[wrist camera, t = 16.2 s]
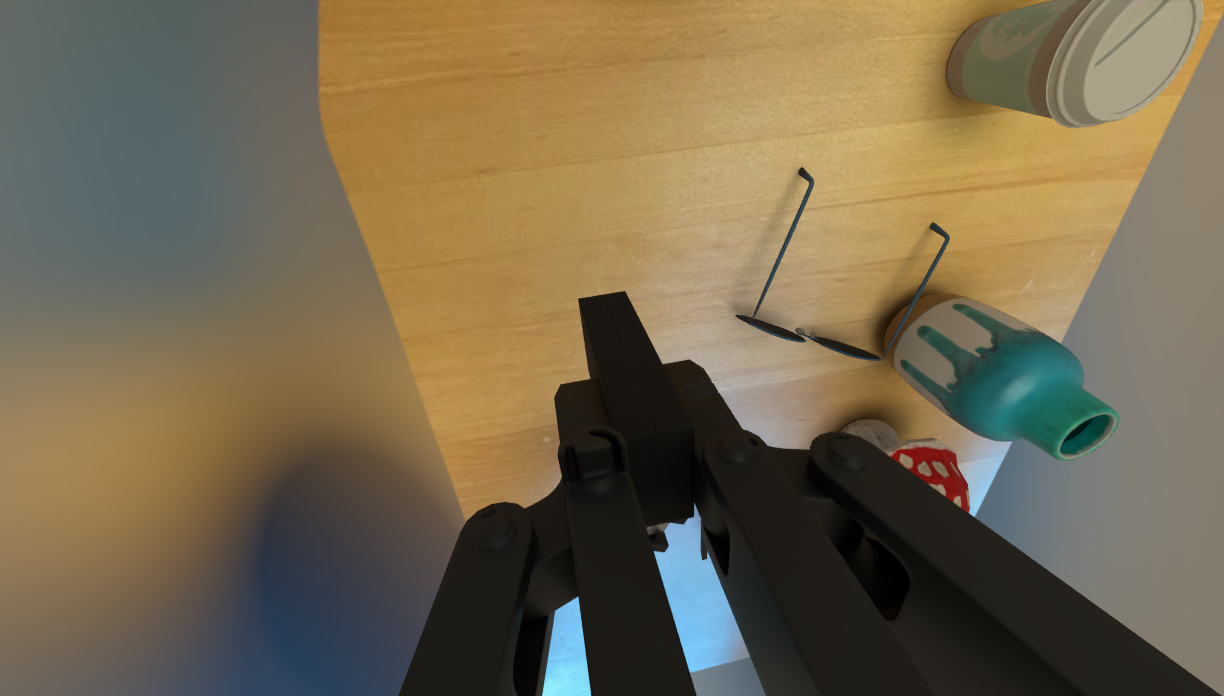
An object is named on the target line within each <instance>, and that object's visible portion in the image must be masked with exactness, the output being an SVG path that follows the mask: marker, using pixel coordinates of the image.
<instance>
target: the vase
mask: <svg viewBox="0 0 1224 696" xmlns="http://www.w3.org/2000/svg"><path fill="white" fill-rule="evenodd" d="M910 304H911V303H910ZM910 304H908V305H907V306H905V307H904V308H903V309H902V310H901V311H900V312H899V313H898V314H897V315H896V316H895V317H894V318H893V320H892V321H891V323H890V325H889V326H888V329H887V331H886V334H885V340H884V349H885V351H886V349H887V347H888V345H889V343H890V341H891V339H892V337H893V335H894V333H895V331H896V329H897V328H898V326H899V324H900V322H901V320H902V318H903V316H904V314H905V313H906V311H907V309H908V307H909V305H910ZM886 357H887V359H888V361H889V363H890V365H891V366H892V367H893V369H894V370H895V371H896V372H897V373H898V374H899V375H900V376H901V377H902V378H903V379H904V380H905V381H906V382H907V383H908V384H909V385H910V386H911V387H912V388H913V389H914V390H916V391H917V392H918V393H919V394H920V395H921V396H923V397H924V398H925V399H926V400H928V401H929V402H930V403H931V404H933V405H934V406H935V407H937V408H938V409H939V410H941V411H942V412H943V413H945V414H946V415H947V416H949V417H950V418H951V419H953V420H954V421H956V422H957V423H959V424H960V425H962V426H964V427H965V428H967V429H969V430H970V431H972V432H974V433H975V434H977V435H979V436H982V437H984V438H987V439H991V440H994V441H1015V440H1020V439H1025V440H1027V441H1029V442H1031V443H1033V444H1034V445H1035V446H1037V447H1039V448H1040V449H1042V450H1043V451H1045V452H1046V453H1048V454H1049V455H1051V456H1053V457H1055V458H1056V459H1059V460H1064V461H1067V460H1074V459H1077V458H1080V457H1083V456H1085V455H1087V454H1089V453H1091V452H1092V451H1094V450H1095V449H1097V448H1098V447H1100V446H1101V445H1102V444H1103V443H1104V442H1106V441H1107V440H1108V439H1109V438H1110V436H1111V435H1112V434H1113V433H1114V431H1115V430H1116V428H1117V426H1118V423H1119V415H1118V413H1117V412H1116V411H1115V410H1114V409H1113V408H1111V407H1110V406H1108V405H1107V404H1105V403H1104V402H1102V401H1100V400H1099V399H1097V398H1096V397H1094V396H1093V395H1091V394H1090V393H1088V392H1087V391H1085V390H1084V389H1083V388H1082V386H1083V382H1084V371H1083V367H1082V365H1081V363H1080V362H1079V360H1078V359H1077V357H1076V356H1075V355H1074V354H1073V353H1072V352H1071V351H1069V350H1068V349H1067V348H1066V347H1064V346H1063V345H1061V344H1060V343H1059V342H1057V341H1056V340H1054V339H1052V338H1051V337H1049V336H1047V335H1046V334H1044V333H1042V332H1040V331H1039V330H1037V329H1035V328H1033V327H1031V326H1029V325H1027V324H1026V323H1024V322H1022V321H1020V320H1018V319H1016V318H1014V317H1012V316H1010V315H1008V314H1006V313H1004V312H1002V311H999V310H997V309H995V308H993V307H991V306H988V305H986V304H983V303H981V302H978V301H976V300H973V299H970V298H967V297H964V296H959V295H955V294H933V295H929V296H925V297H922V298H919V299H917V301H916V303H915V305H914V306H913V308H912V310H911V312H910V313H909V315H908V317H907V319H906V321H905V322H904V324H903V326H902V328H901V329H900V331H899V333H898V335H897V336H896V338H895V340H894V341H893V343H892V345H891V346H890V348H889V349H888V351H887V352H886Z"/></svg>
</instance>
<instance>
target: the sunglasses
mask: <svg viewBox="0 0 1224 696" xmlns="http://www.w3.org/2000/svg"><path fill="white" fill-rule="evenodd" d="M798 174H799V175H800V176H802V177H803V178H804V179H806V180H807V181H809V187H808V189H807V191H806V194H805V196H804V198H803V201H802V203H801V205H800V208H799V210H798V212H797V214H796V217H795V219H794V221H793V224H792V226H791V228H790V230H789V233H788V235H787V237H786V240H785V242H784V244H783V246H782V249H781V251H780V253H779V255H778V258H777V260H776V262H775V265H774V267H773V269H772V272H771V274H770V276H769V278H768V281H767V283H766V286H765V288H764V290H763V293H762V295H761V297H760V300H759V302H758V305H757V307H756V310H755V312H754V315H753V318H750V317H747V316H742V315H735V316H736V317H737V318H739V319H740V320H742V321H744V322H746V323H748V324H750V325H752V326H754V327H756V328H758V329H760V330H762V331H765V332H767V333H769V334H772V335H774V336H777V337H780V338H783V339H786V340H790V341H796V342H806V341H807V340H806V341H805V339H804V338H803V337H801V336H799V335H804V336H806V337H808V338H810V339H811V340H813V341H815V342H817V343H819V344H821V345H822V346H824V347H827V348H829V349H831V350H834V351H836V352H839V353H842V354H844V355H847V356H851V357H854V358H859V359H864V360H872V361H881V360H882V359H880V357H878V356H876V355H874V354H871V353H869V352H867V351H864V350H862V349H859V348H856V347H853V346H850V345H847V344H844V343H841V342H838V341H834V340H830V339H826V338H821V337H816V333H815V332H812V333H810V336H807V335H805V334H804V331H803V330H802V329H801V328H796V329H795V331H796V333H797V334H798V335H797V334H795V333H793V332H791V331H789V330H786V329H784V328H781V327H778V326H775V325H773V324H770V323H767V322H764V321H760V320H757V319H754V316H755V315H756V313H757V311H758V309H759V307H760V305H761V303H762V301H763V299H764V296H765V294H766V292H767V290H768V288H769V286H770V283H771V281H772V279H773V277H774V275H775V272H776V270H777V268H778V266H779V263H780V261H781V259H782V257H783V255H784V252H785V250H786V248H787V246H788V243H789V241H790V239H791V237H792V234H793V232H794V230H795V228H796V225H797V223H798V221H799V218H800V216H801V214H802V212H803V209H804V207H805V205H806V202H807V200H808V198H809V196H810V193H811V191H812V188H813V186H814V180H813V178H812V177H811V176H810V175H809V174H808V173H807V172H806V170H805V169H804V168H803V167H802V168H801V169H800V170H799V172H798ZM930 229H931V230H933V231H935V232H936V233H938V234H940V235H941V236H943V237H944V238H945V241H944V243H943V245H942V247H941V249H940V251H939V253H938V254H937V256H936V258H935V260H934V262H933V263H932V265H931V267H930V269H929V271H928V273H927V274H926V276H925V278H924V280H923V282H922V284H921V285H920V287H919V289H918V291H917V293H916V294H915V296H914V298H913V300H912V302H911V304H910V305H909V307H908V309H907V311H906V313H905V314H904V316H903V318H902V320H901V322H900V324H899V326H898V328H897V329H896V331H895V333H894V335H893V337H892V339H891V341H890V343H889V345H888V347H887V349H886V351H885V353H884V355H885V354H886V352H887V351H888V349H889V348H890V346H891V345H892V343H893V341H894V340H895V338H896V336H897V335H898V333H899V331H900V329H901V328H902V326H903V324H904V322H905V321H906V319H907V317H908V315H909V313H910V312H911V310H912V308H913V306H914V305H915V303H916V301H917V299H918V297H919V296H920V294H921V292H922V290H923V288H924V287H925V285H926V283H927V281H928V279H929V278H930V276H931V274H932V272H933V270H934V269H935V267H936V265H937V263H938V261H939V259H940V258H941V256H942V254H943V252H944V250H945V248H946V246H947V244H948V242H949V240H950V238H949V235H948V234H947V233H946V232H945V231H944V230H942V229H941V228H940V227H939V226H938V225H937V224H935V223H933V224H932V225H931V227H930ZM883 357H884V356H883Z"/></svg>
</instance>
